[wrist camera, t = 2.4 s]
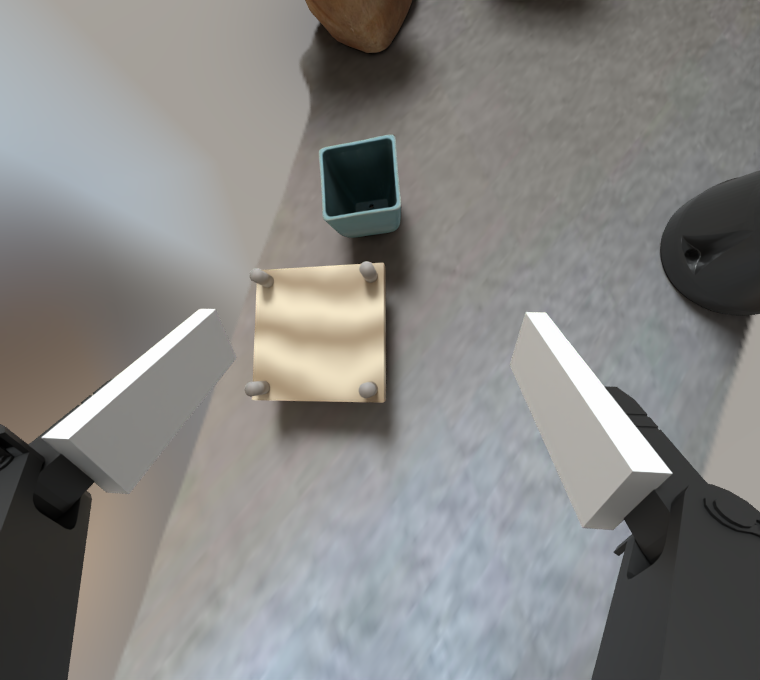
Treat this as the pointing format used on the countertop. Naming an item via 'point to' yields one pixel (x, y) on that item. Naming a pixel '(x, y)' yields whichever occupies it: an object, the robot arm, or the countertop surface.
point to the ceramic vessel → (361, 21)
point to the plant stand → (320, 334)
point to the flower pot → (361, 186)
